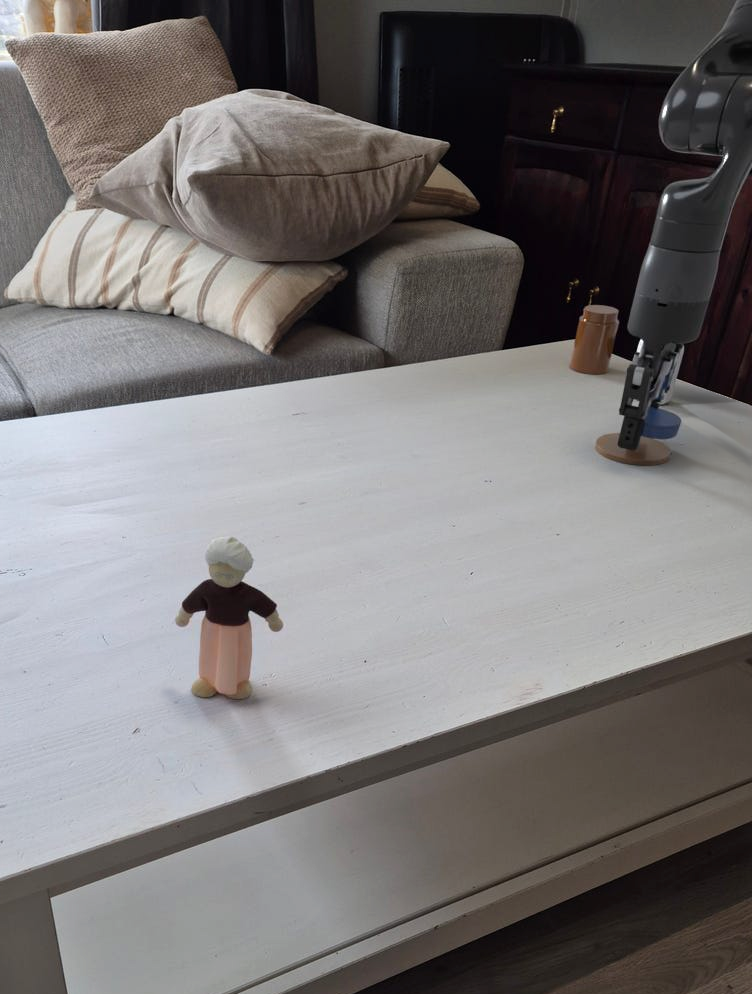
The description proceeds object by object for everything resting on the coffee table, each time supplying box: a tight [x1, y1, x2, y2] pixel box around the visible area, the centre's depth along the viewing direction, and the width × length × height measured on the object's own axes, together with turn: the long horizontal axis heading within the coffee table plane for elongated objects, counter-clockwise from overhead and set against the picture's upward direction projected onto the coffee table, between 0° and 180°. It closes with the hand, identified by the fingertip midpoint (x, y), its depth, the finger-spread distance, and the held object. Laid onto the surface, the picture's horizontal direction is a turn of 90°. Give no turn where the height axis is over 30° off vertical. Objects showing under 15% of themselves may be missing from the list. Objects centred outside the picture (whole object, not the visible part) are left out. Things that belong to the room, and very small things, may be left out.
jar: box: [569, 304, 620, 375], centre depth 132 cm, size 5×5×8 cm
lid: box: [641, 407, 682, 440], centre depth 106 cm, size 6×6×2 cm
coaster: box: [594, 432, 671, 466], centre depth 109 cm, size 8×8×1 cm
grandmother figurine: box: [174, 536, 284, 700], centre depth 65 cm, size 8×4×13 cm, turn 96°
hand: (634, 439), depth 108 cm, fingers closed on lid, 5 cm apart
